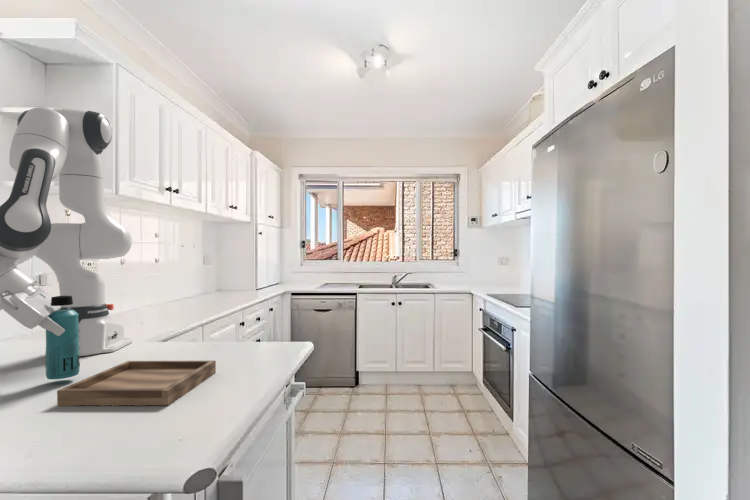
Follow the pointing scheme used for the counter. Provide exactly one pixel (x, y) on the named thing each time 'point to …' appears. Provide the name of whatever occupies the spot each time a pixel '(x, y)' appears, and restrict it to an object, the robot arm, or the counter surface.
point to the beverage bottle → (63, 342)
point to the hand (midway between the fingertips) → (65, 330)
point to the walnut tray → (138, 383)
